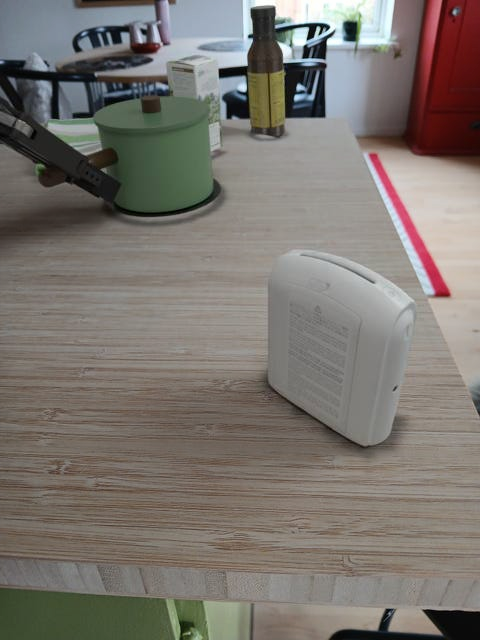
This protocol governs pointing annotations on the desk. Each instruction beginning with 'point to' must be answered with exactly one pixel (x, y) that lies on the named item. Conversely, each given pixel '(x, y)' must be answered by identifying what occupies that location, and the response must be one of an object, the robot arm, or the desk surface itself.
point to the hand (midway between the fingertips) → (108, 190)
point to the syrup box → (198, 88)
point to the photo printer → (338, 342)
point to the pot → (152, 153)
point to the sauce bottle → (265, 75)
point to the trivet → (169, 213)
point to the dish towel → (75, 135)
